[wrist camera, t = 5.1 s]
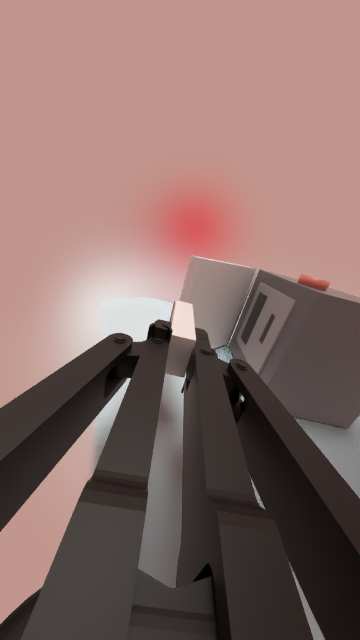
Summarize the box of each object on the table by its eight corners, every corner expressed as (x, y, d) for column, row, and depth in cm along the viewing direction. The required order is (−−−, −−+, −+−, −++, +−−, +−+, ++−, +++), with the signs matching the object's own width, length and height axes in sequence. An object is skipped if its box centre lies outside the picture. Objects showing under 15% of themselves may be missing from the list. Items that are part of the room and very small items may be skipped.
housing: (282, 352, 31) (323, 279, 26) (347, 428, 19) (449, 314, 14) (225, 339, 31) (255, 261, 26) (252, 408, 18) (322, 281, 13)
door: (229, 343, 29) (259, 269, 24) (169, 366, 20) (198, 258, 16) (221, 338, 30) (249, 266, 25) (160, 358, 21) (185, 253, 17)
